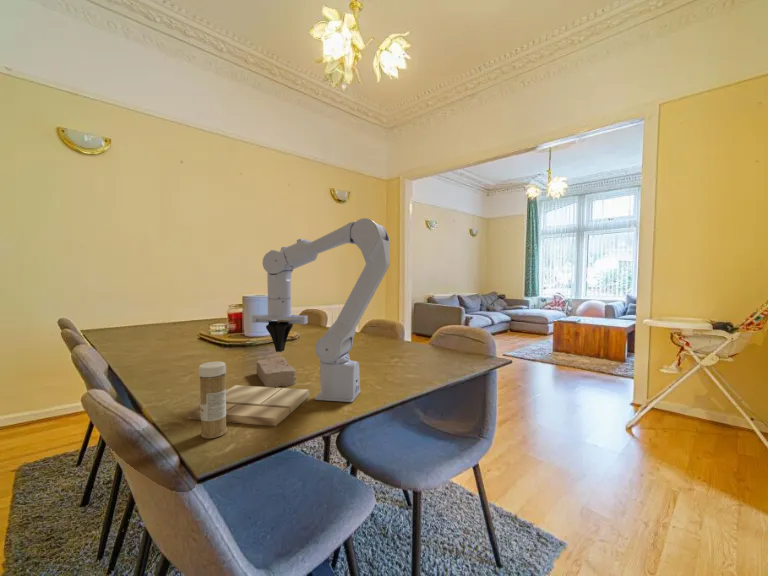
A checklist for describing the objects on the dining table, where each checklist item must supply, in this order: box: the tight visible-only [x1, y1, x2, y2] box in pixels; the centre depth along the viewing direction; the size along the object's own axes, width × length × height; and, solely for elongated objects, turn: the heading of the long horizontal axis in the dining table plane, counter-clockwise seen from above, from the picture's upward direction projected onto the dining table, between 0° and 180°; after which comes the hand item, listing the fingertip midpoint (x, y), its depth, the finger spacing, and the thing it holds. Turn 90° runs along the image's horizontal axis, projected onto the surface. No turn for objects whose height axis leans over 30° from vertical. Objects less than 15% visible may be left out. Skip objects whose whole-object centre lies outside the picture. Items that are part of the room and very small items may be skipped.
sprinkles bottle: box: [198, 360, 228, 439], centre depth 65 cm, size 5×5×14 cm
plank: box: [226, 384, 310, 414], centre depth 81 cm, size 20×10×2 cm, turn 79°
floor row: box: [187, 402, 291, 427], centre depth 73 cm, size 20×6×2 cm, turn 79°
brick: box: [256, 356, 297, 388], centre depth 100 cm, size 17×8×5 cm, turn 29°
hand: (280, 351), depth 89 cm, fingers closed
